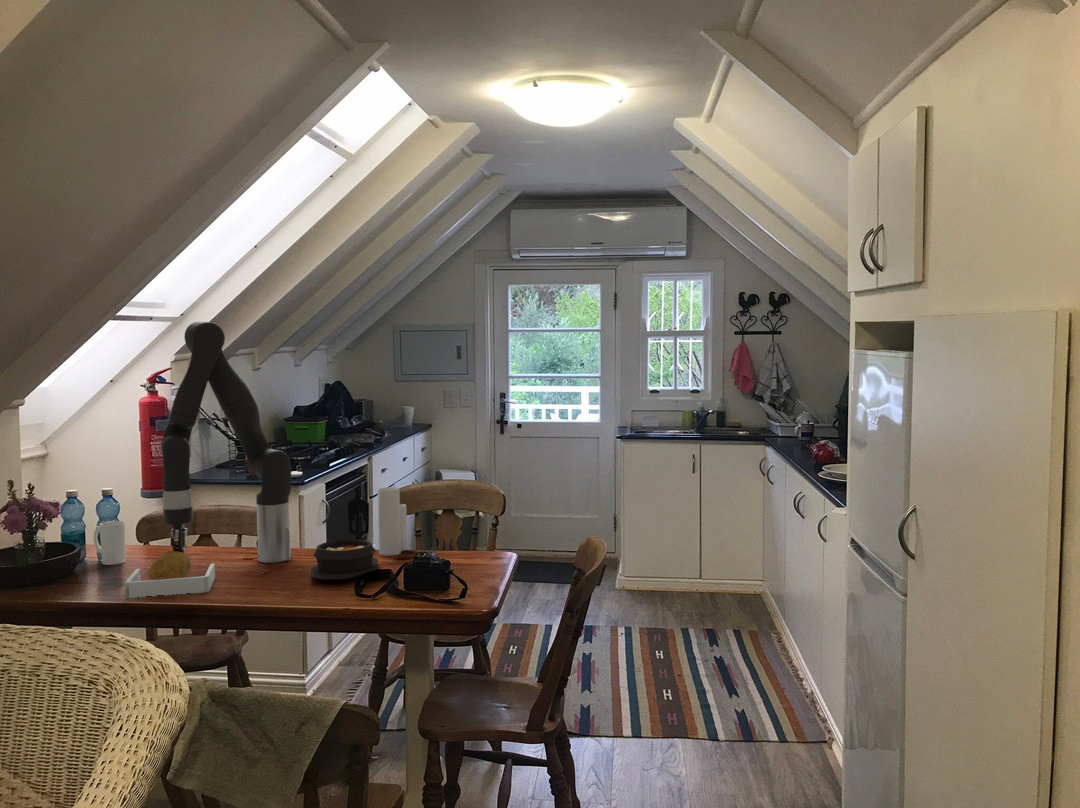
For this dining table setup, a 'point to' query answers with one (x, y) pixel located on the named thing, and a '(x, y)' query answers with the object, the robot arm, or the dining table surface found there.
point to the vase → (391, 522)
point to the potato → (170, 566)
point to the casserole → (344, 559)
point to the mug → (111, 542)
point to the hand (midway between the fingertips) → (180, 567)
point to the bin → (168, 585)
